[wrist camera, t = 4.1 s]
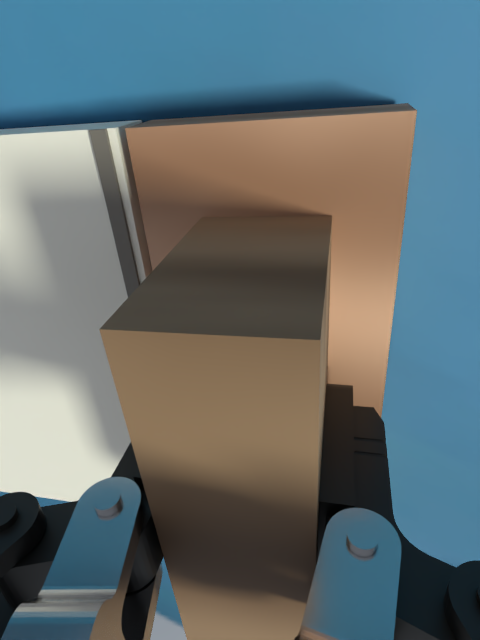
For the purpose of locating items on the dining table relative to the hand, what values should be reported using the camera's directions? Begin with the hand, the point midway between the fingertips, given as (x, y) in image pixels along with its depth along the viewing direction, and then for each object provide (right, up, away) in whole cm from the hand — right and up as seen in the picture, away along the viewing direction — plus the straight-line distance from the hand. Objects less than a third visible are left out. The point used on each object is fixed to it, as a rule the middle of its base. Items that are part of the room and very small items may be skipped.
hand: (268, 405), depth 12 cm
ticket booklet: (-9, +2, +4) cm, 10 cm away
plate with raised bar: (+1, +1, +2) cm, 2 cm away
